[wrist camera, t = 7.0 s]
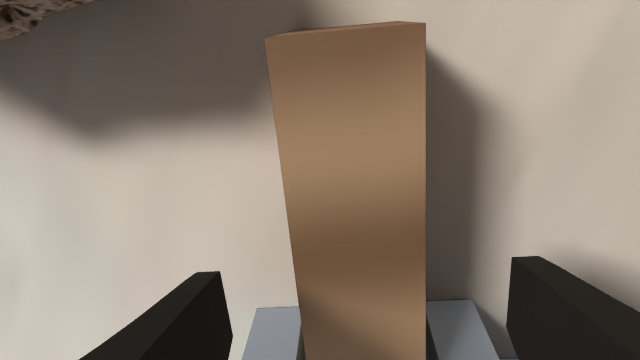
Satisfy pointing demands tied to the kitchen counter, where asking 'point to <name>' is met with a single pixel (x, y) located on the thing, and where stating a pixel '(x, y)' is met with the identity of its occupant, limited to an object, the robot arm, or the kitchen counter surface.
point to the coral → (29, 14)
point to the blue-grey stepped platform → (441, 333)
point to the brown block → (355, 184)
